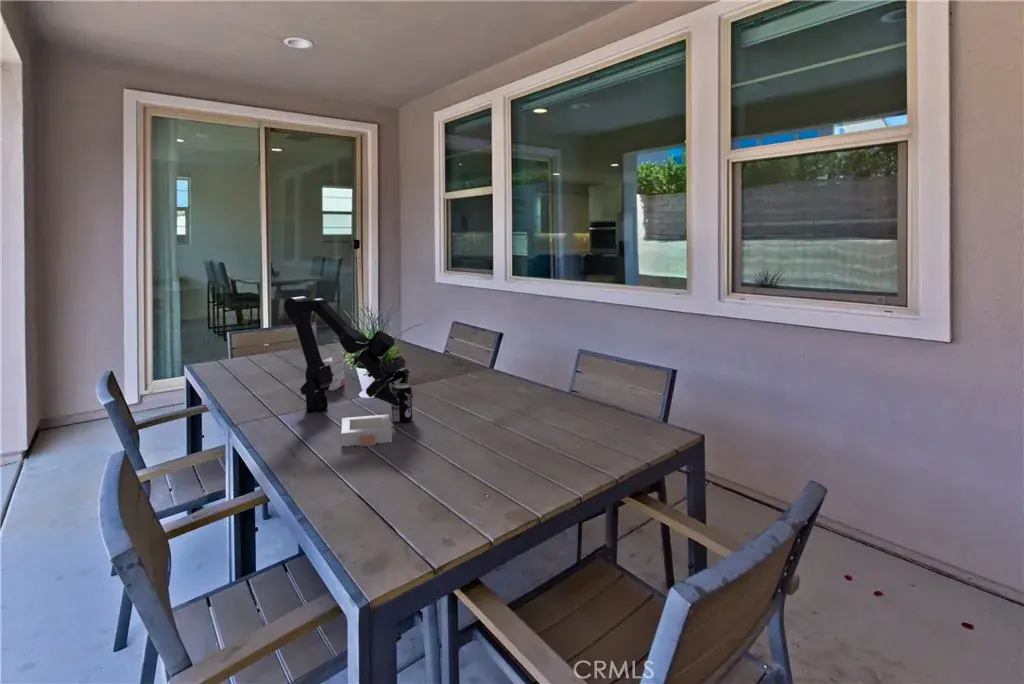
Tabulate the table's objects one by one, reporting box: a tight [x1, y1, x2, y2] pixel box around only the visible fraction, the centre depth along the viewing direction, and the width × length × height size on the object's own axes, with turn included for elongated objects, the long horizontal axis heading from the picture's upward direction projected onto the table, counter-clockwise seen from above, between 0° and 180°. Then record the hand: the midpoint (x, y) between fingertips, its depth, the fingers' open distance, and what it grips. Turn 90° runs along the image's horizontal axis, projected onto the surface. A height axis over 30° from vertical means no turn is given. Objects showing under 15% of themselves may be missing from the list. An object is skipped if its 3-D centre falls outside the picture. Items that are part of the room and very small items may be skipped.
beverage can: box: [390, 383, 413, 424], centre depth 178 cm, size 7×7×12 cm
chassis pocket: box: [340, 414, 393, 448], centre depth 165 cm, size 14×16×4 cm
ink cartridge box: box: [322, 349, 346, 391], centre depth 217 cm, size 9×5×15 cm, turn 168°
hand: (405, 401), depth 178 cm, fingers open, 8 cm apart
